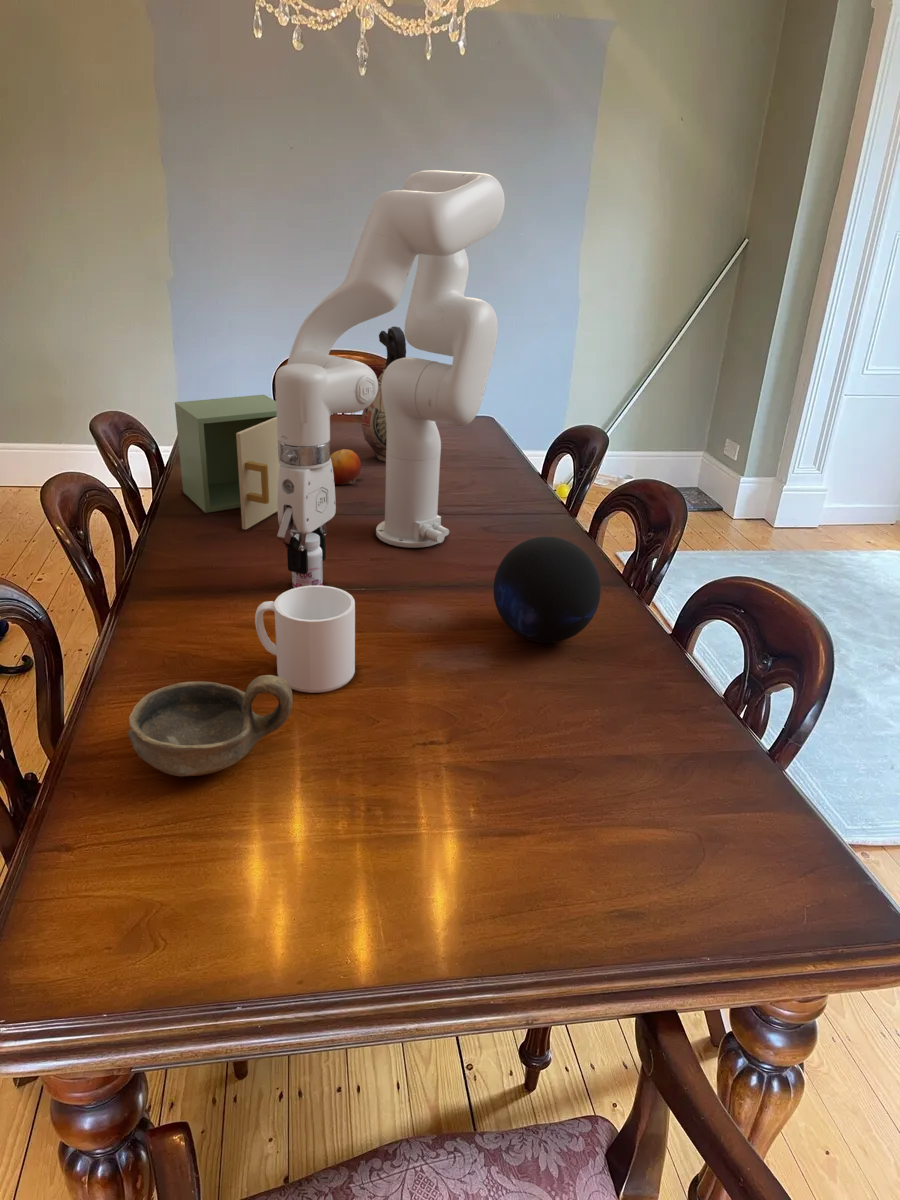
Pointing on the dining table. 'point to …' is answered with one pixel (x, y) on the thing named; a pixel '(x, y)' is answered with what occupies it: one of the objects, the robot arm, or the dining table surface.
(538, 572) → the decorative sphere
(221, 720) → the bowl
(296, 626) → the mug
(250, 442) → the door
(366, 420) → the ceramic jug
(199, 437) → the cupboard
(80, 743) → the dining table surface
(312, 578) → the pill bottle
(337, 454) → the fruit
